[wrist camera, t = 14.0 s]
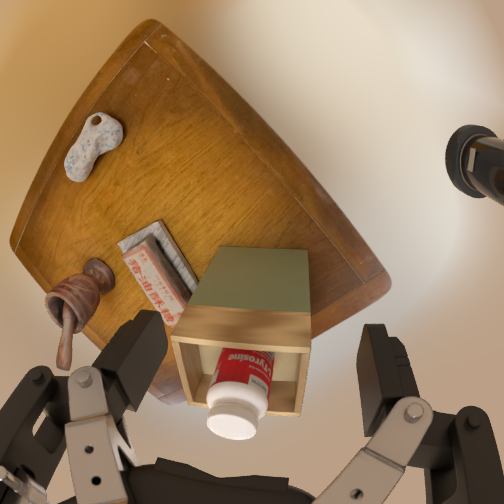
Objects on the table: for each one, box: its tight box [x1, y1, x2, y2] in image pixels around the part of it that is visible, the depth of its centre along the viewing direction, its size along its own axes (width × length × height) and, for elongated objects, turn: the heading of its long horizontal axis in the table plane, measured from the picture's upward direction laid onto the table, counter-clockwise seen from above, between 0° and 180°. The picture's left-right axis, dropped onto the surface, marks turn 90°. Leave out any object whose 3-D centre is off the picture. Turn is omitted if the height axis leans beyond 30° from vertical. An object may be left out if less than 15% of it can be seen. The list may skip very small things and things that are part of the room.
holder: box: [170, 304, 311, 417], centre depth 33 cm, size 14×12×6 cm
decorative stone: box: [64, 113, 123, 182], centre depth 41 cm, size 13×7×5 cm, turn 137°
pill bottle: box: [206, 347, 275, 440], centre depth 30 cm, size 6×6×11 cm
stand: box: [188, 246, 310, 312], centre depth 42 cm, size 14×12×16 cm
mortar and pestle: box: [45, 258, 114, 371], centre depth 46 cm, size 12×9×20 cm
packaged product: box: [118, 220, 199, 328], centre depth 49 cm, size 18×5×10 cm
